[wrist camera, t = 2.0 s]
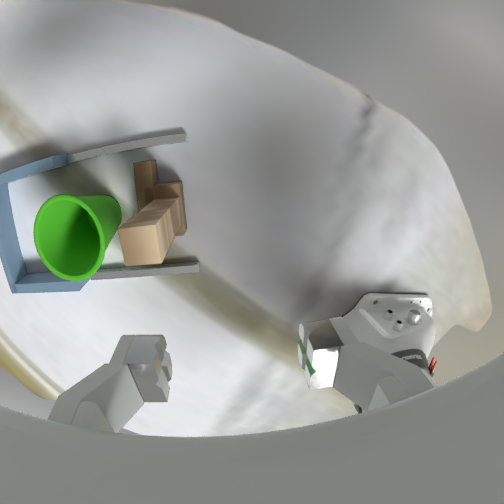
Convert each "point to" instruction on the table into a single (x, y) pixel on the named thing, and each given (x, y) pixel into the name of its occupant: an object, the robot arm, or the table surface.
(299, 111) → the table surface
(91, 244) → the cup
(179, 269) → the track
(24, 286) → the bay
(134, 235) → the stepped wooden block
